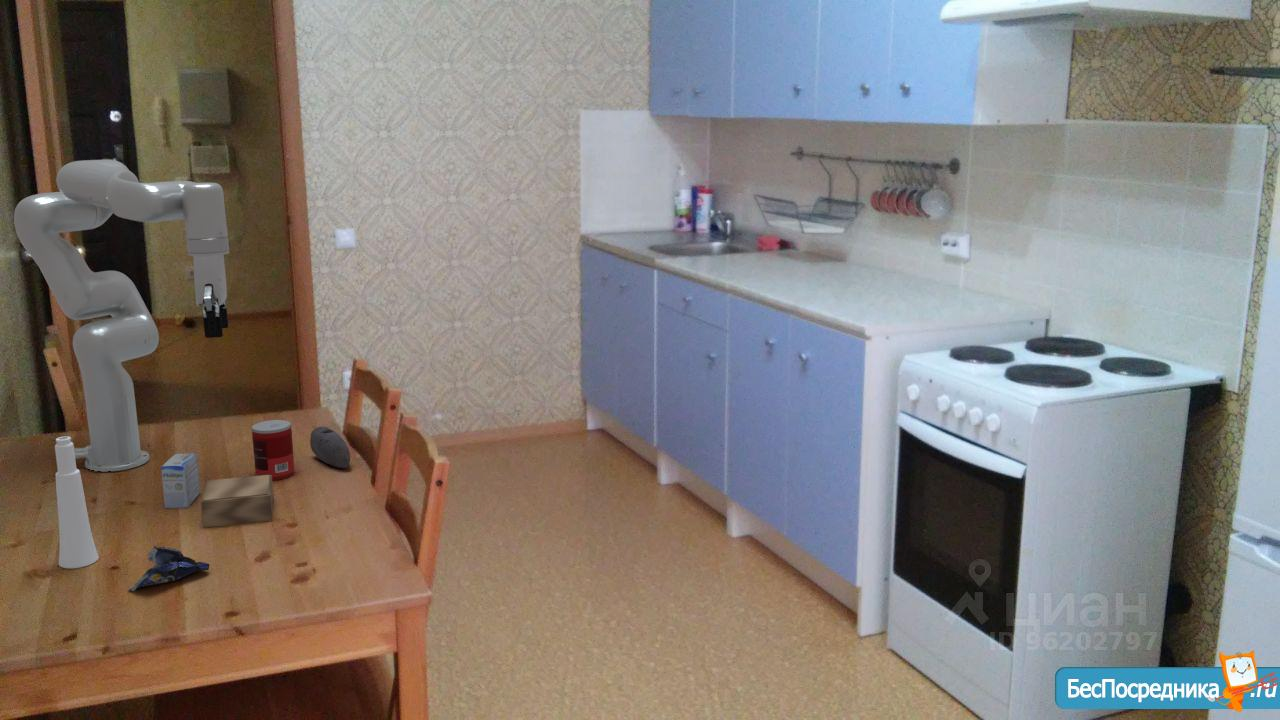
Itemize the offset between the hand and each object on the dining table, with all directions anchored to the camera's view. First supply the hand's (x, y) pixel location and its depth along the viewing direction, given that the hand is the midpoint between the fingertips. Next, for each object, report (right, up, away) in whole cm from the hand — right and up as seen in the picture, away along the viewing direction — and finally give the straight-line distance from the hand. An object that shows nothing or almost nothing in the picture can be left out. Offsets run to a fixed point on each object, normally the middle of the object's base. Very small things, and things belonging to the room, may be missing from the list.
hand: (217, 332), depth 211 cm
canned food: (+7, -30, +13) cm, 33 cm away
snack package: (+7, -42, -36) cm, 56 cm away
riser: (+8, -35, -8) cm, 36 cm away
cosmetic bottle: (-12, -40, -30) cm, 51 cm away
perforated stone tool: (+17, -28, +21) cm, 39 cm away
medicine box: (-6, -34, -2) cm, 34 cm away
